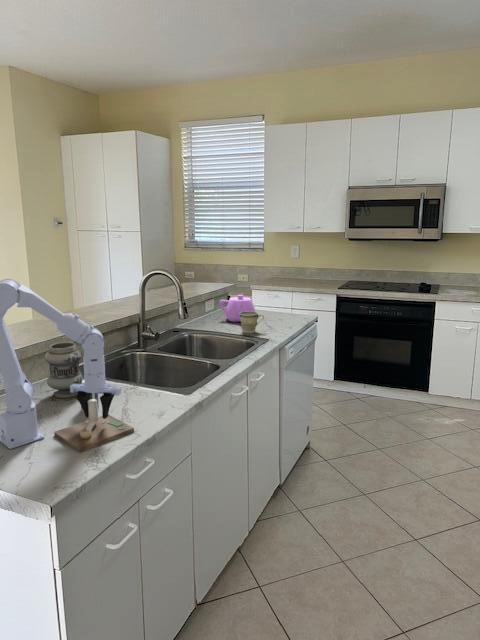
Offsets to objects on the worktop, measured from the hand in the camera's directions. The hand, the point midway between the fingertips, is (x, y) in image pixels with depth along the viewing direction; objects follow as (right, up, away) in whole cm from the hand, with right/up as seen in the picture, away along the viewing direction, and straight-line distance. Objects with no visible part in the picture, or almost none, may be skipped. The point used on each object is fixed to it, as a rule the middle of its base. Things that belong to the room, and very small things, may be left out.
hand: (97, 416), depth 139 cm
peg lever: (-1, -3, -3) cm, 5 cm away
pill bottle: (-7, -1, +15) cm, 16 cm away
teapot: (+42, +27, +143) cm, 152 cm away
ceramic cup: (+48, +22, +116) cm, 127 cm away
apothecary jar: (-18, +2, +27) cm, 32 cm away
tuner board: (0, -4, -2) cm, 5 cm away
